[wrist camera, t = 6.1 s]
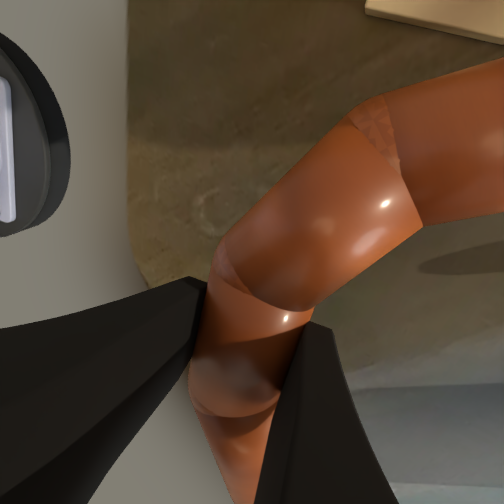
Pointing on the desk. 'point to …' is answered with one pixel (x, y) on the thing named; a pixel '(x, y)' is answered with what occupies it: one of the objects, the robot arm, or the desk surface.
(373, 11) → the stand
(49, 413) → the robot arm
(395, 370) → the desk surface
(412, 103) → the ring
